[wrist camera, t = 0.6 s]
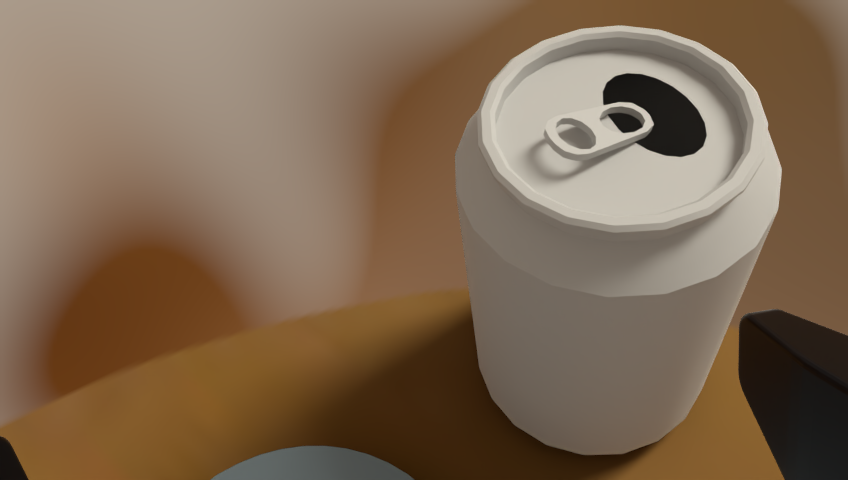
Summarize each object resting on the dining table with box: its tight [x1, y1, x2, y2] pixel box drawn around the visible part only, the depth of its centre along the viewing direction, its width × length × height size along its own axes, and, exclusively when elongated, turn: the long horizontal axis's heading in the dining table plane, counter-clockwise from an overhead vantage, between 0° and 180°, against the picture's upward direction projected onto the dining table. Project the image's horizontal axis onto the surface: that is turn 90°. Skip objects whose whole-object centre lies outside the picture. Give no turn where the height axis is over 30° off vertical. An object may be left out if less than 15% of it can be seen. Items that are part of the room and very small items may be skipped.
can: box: [455, 25, 782, 455], centre depth 21 cm, size 8×8×12 cm
